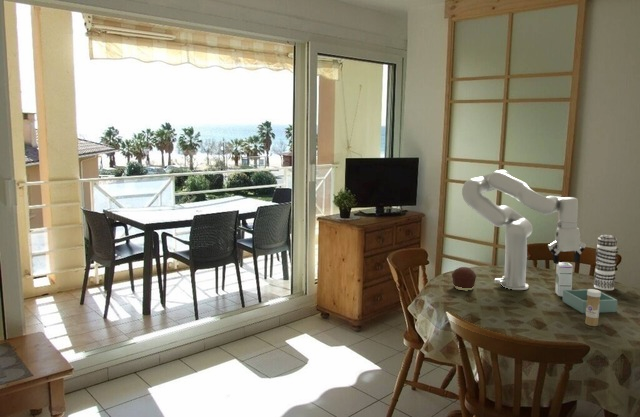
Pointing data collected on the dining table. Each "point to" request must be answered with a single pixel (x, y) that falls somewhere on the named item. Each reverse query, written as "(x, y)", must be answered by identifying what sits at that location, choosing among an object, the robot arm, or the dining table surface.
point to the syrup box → (563, 277)
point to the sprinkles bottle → (592, 307)
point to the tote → (579, 301)
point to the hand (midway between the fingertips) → (566, 262)
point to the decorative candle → (605, 262)
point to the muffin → (464, 277)
